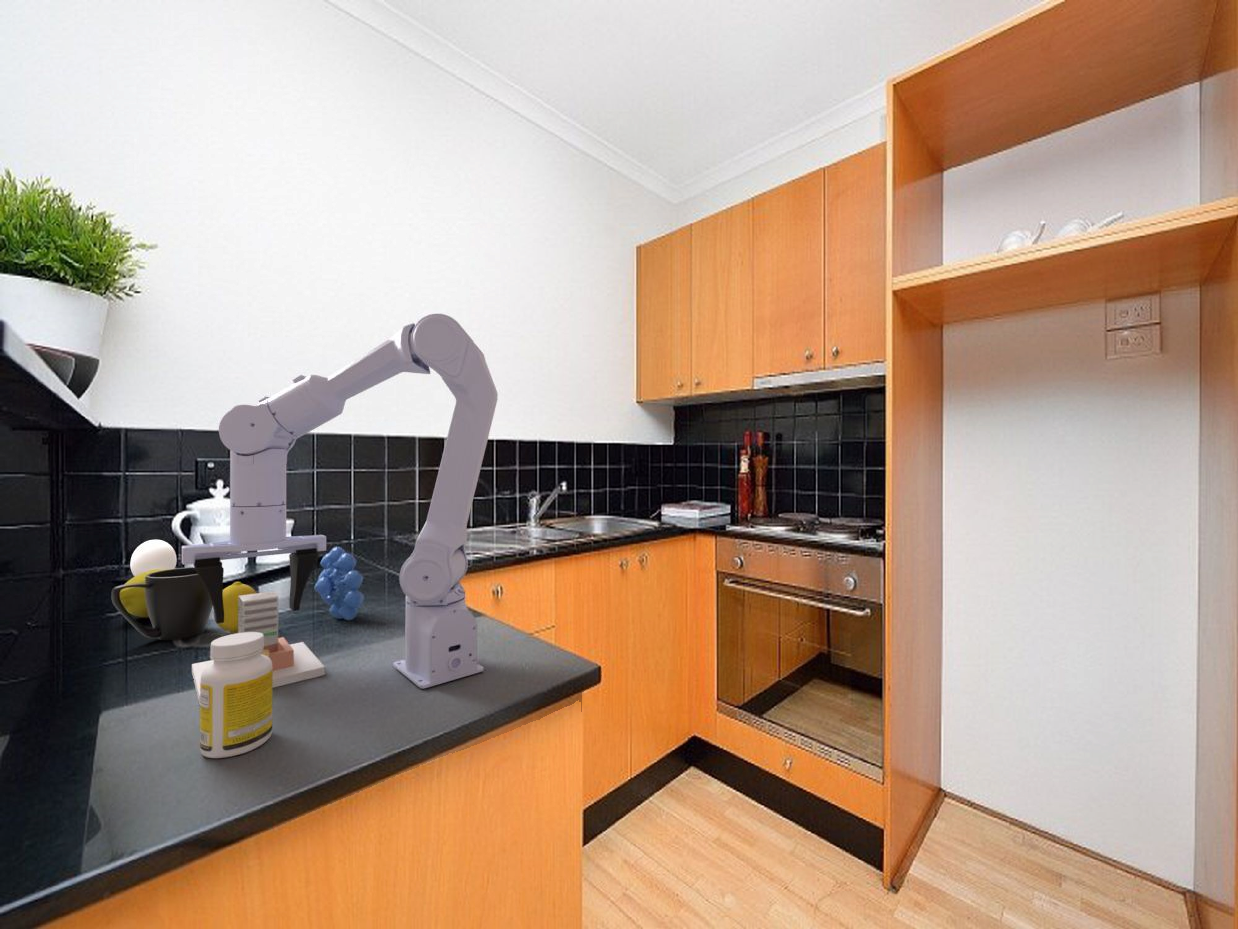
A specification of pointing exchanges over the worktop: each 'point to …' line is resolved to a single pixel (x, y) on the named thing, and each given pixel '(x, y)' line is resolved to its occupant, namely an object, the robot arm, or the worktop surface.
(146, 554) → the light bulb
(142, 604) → the lemon
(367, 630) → the worktop surface
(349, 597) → the grapes
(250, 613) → the column
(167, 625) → the mug
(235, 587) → the lemon
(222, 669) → the supplement bottle
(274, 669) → the stand base
